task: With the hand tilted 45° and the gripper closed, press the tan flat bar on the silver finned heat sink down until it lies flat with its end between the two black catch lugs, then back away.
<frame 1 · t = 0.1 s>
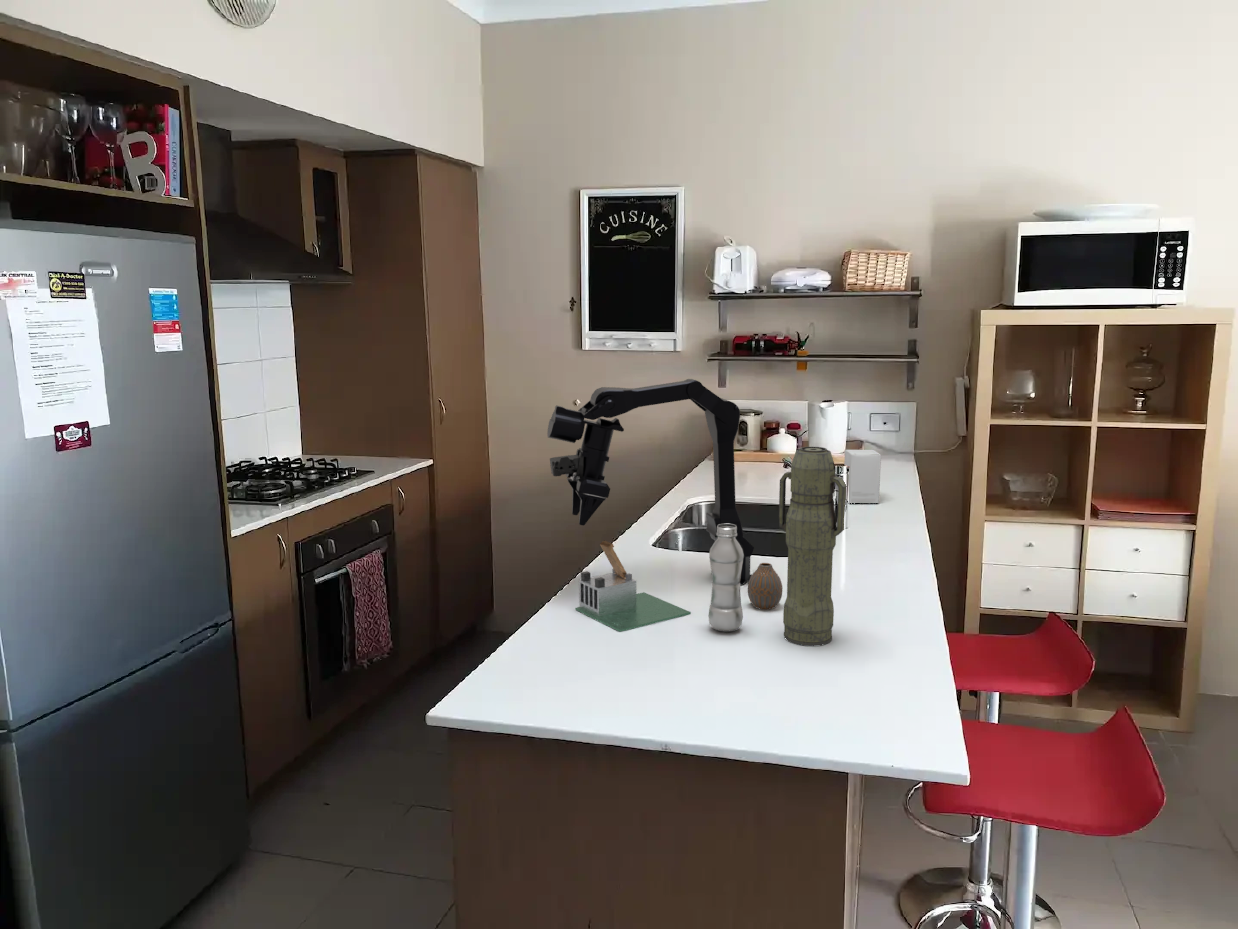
hand: (578, 519, 202), 15 cm above the worktop, tool pointing down, fingers open, 9 cm apart
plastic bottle: (725, 630, 181), on the worktop
supplement box: (860, 501, 287), on the worktop
thermos: (808, 638, 177), on the worktop
vase: (764, 607, 194), on the worktop
tan flat bar: (614, 560, 192), point 10 cm above the worktop, hinge at 60.0°
heat sink: (607, 609, 193), on the worktop
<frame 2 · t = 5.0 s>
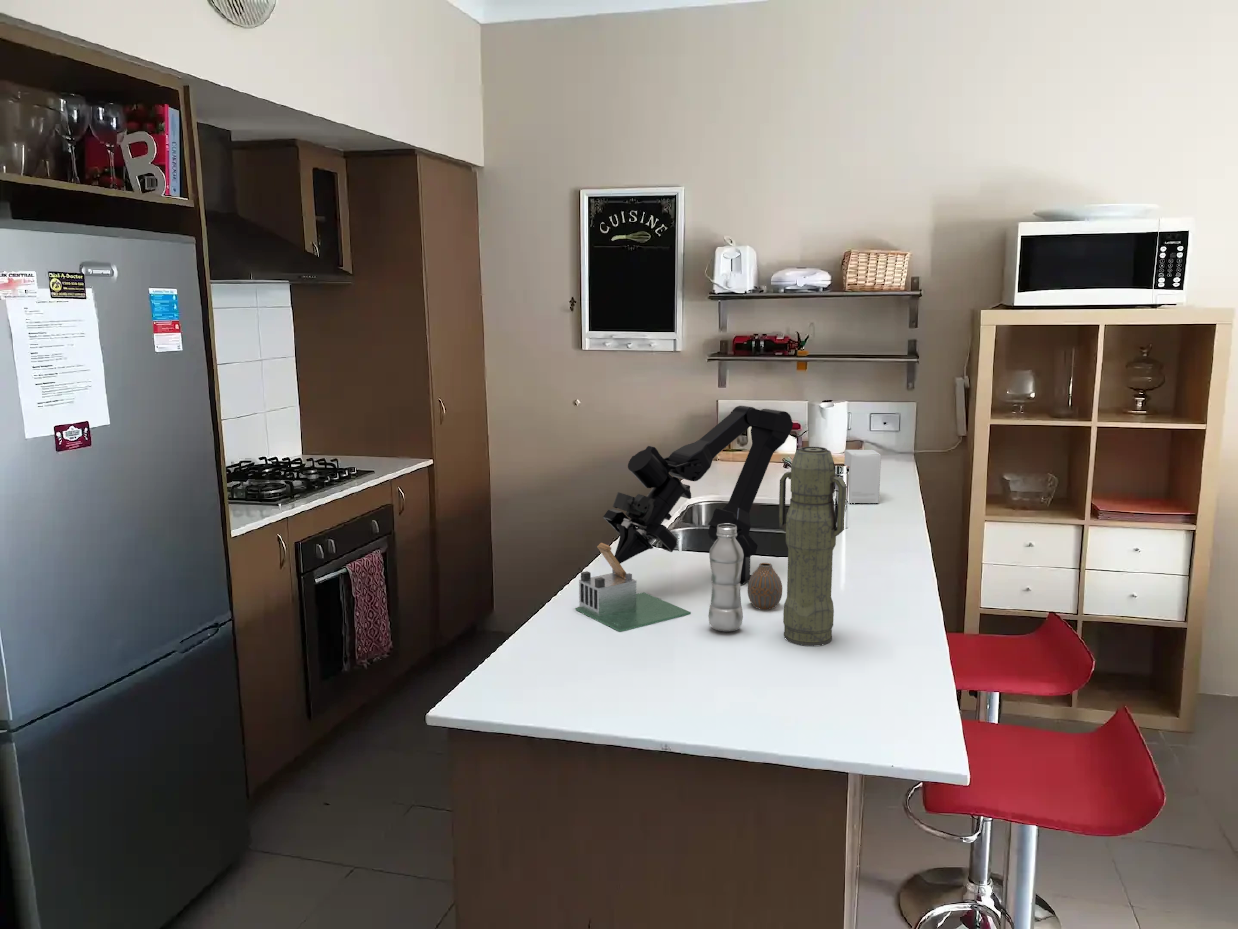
hand: (615, 563, 192), 9 cm above the worktop, tool tilted 45°, fingers closed, pressing on tan flat bar
tan flat bar: (613, 561, 192), point 10 cm above the worktop, hinge at 54.4°, touching gripper
everything else where it was.
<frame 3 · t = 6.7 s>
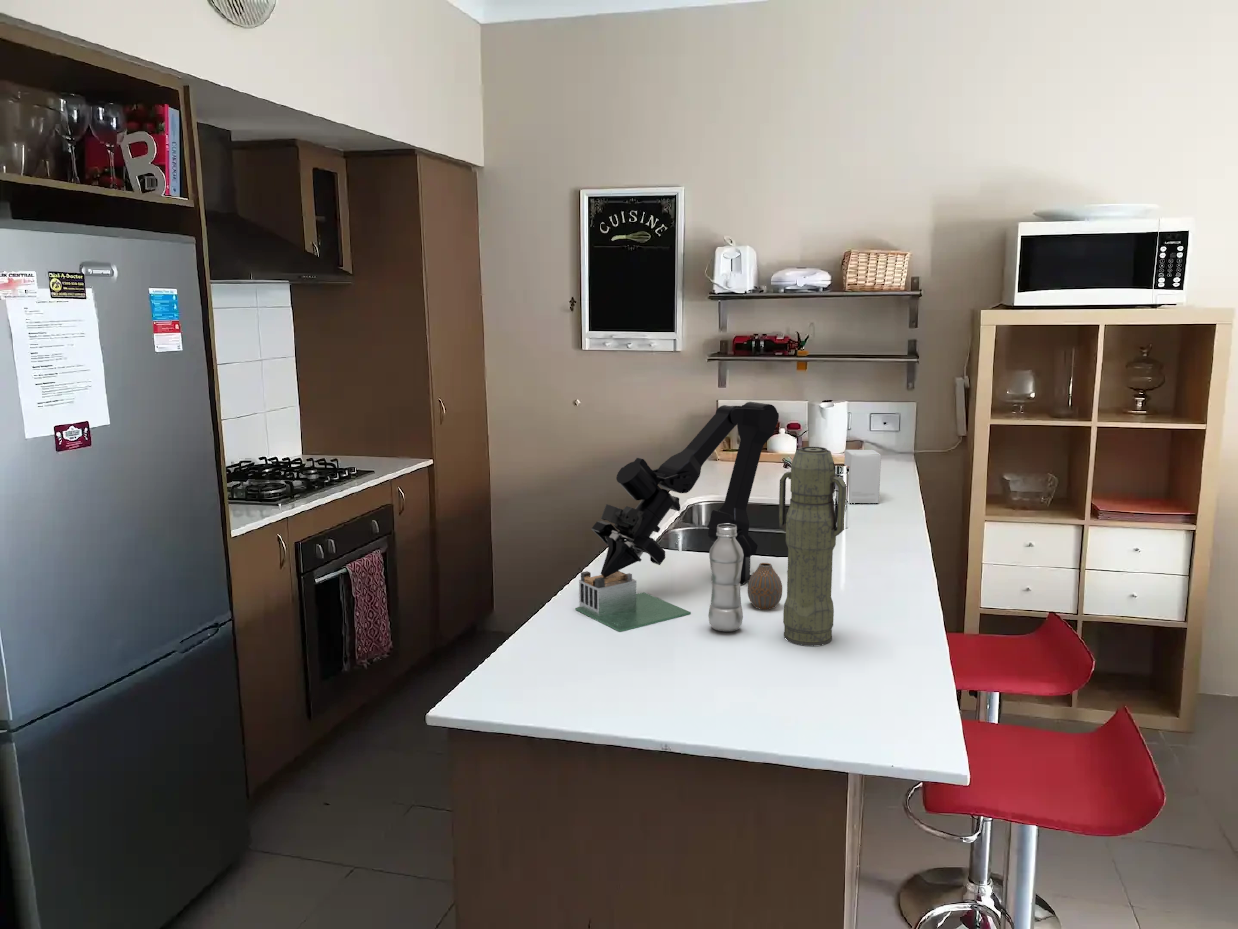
hand: (603, 575, 191), 7 cm above the worktop, tool tilted 45°, fingers closed
tan flat bar: (606, 577, 191), point 7 cm above the worktop, hinge at -1.0°, touching heat sink
everything else where it was.
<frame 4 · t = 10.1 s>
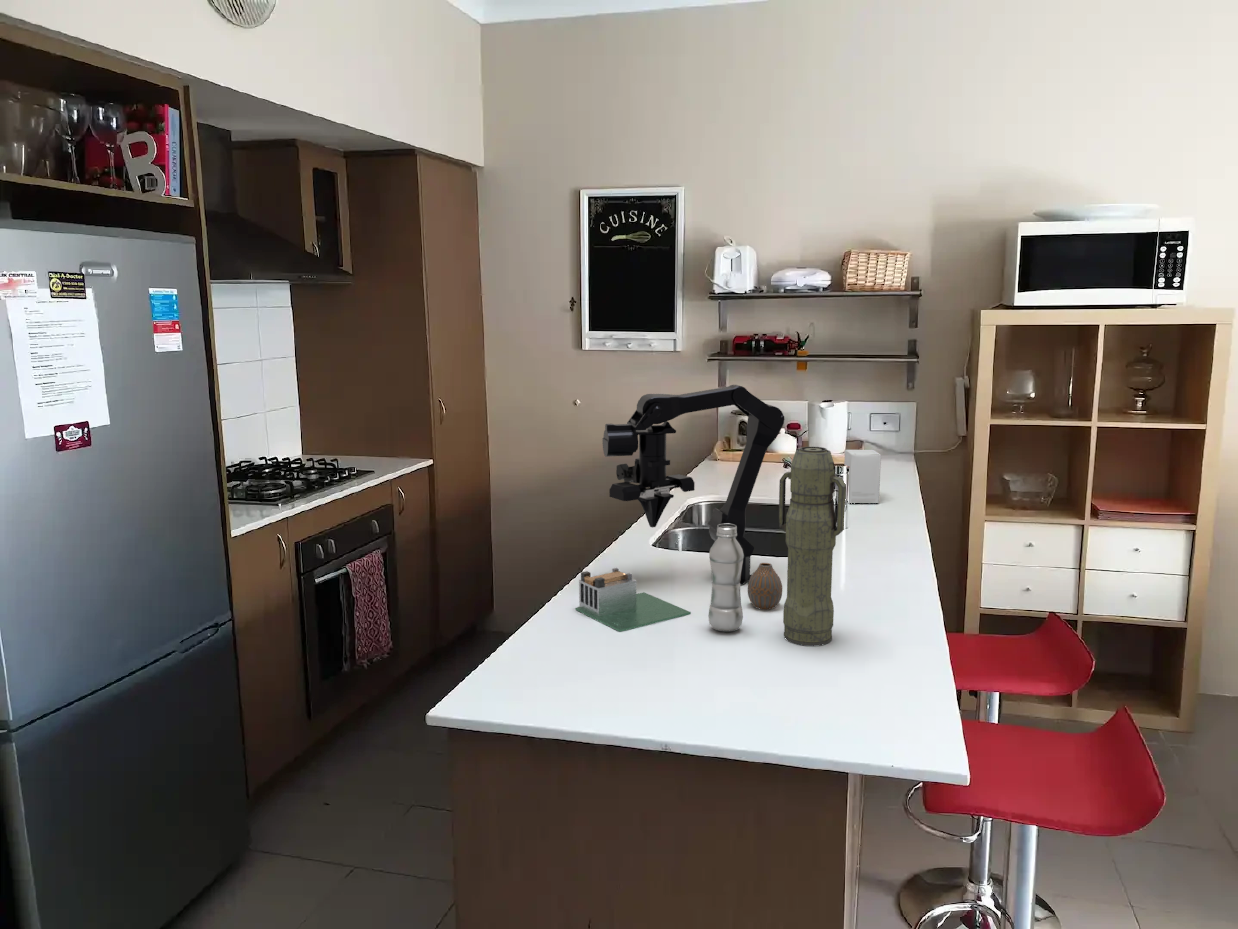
hand: (652, 526, 205), 13 cm above the worktop, tool pointing down, fingers closed
nothing on the worktop moved.
at the end: tan flat bar at -1° (first picture: +60°); vase moved 0.2 cm from its start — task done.
